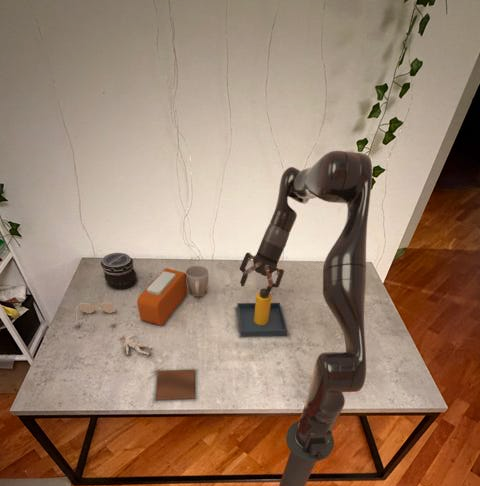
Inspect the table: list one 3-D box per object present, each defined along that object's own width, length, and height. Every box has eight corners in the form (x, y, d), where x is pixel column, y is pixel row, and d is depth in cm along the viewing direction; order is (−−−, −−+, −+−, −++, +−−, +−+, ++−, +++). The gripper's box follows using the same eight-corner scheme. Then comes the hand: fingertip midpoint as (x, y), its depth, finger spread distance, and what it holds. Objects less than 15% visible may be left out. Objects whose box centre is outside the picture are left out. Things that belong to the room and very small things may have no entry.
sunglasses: (118, 312, 130) (114, 302, 126) (116, 329, 126) (112, 319, 122) (80, 312, 129) (76, 303, 124) (77, 329, 125) (72, 320, 121)
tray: (286, 335, 127) (287, 330, 125) (241, 336, 125) (241, 331, 123) (279, 307, 137) (279, 302, 135) (237, 308, 135) (237, 303, 133)
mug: (187, 286, 143) (186, 265, 135) (208, 286, 143) (208, 265, 136) (187, 303, 136) (185, 282, 128) (209, 303, 136) (208, 282, 129)
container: (110, 272, 146) (104, 250, 138) (140, 274, 146) (135, 252, 139) (102, 289, 139) (95, 266, 131) (133, 291, 139) (128, 269, 131)
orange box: (169, 288, 141) (166, 263, 132) (188, 293, 140) (185, 267, 131) (141, 322, 127) (135, 296, 118) (161, 328, 126) (156, 301, 117)
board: (194, 398, 106) (194, 397, 105) (156, 400, 105) (155, 398, 104) (194, 371, 113) (194, 369, 113) (158, 372, 112) (157, 370, 112)
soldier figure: (143, 363, 116) (111, 347, 114) (147, 362, 120) (116, 346, 119) (153, 343, 114) (120, 326, 113) (156, 343, 119) (125, 326, 118)
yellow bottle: (269, 325, 129) (273, 295, 119) (254, 325, 129) (257, 295, 118) (267, 315, 132) (271, 286, 122) (253, 316, 132) (255, 286, 122)
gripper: (251, 232, 104) (231, 283, 112) (292, 252, 104) (269, 302, 111) (256, 234, 111) (237, 281, 119) (294, 252, 110) (273, 299, 118)
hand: (253, 291), depth 115 cm, fingers open, 8 cm apart
